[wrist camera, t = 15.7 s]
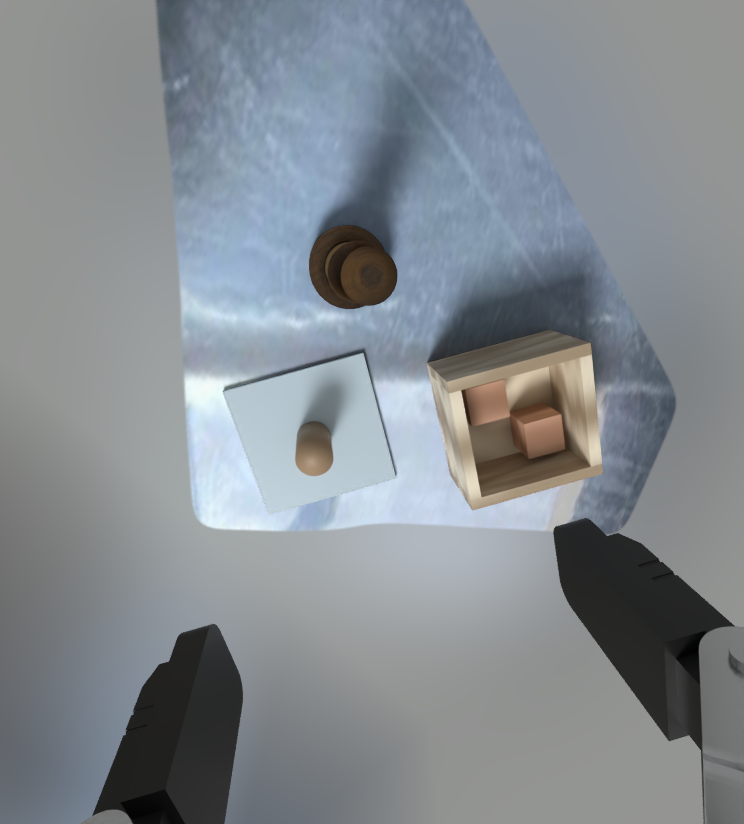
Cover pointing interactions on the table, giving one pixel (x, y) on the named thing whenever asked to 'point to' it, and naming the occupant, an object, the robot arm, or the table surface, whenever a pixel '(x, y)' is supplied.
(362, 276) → the mortar and pestle
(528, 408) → the block
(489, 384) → the block
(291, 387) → the lid
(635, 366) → the table surface
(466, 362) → the box
